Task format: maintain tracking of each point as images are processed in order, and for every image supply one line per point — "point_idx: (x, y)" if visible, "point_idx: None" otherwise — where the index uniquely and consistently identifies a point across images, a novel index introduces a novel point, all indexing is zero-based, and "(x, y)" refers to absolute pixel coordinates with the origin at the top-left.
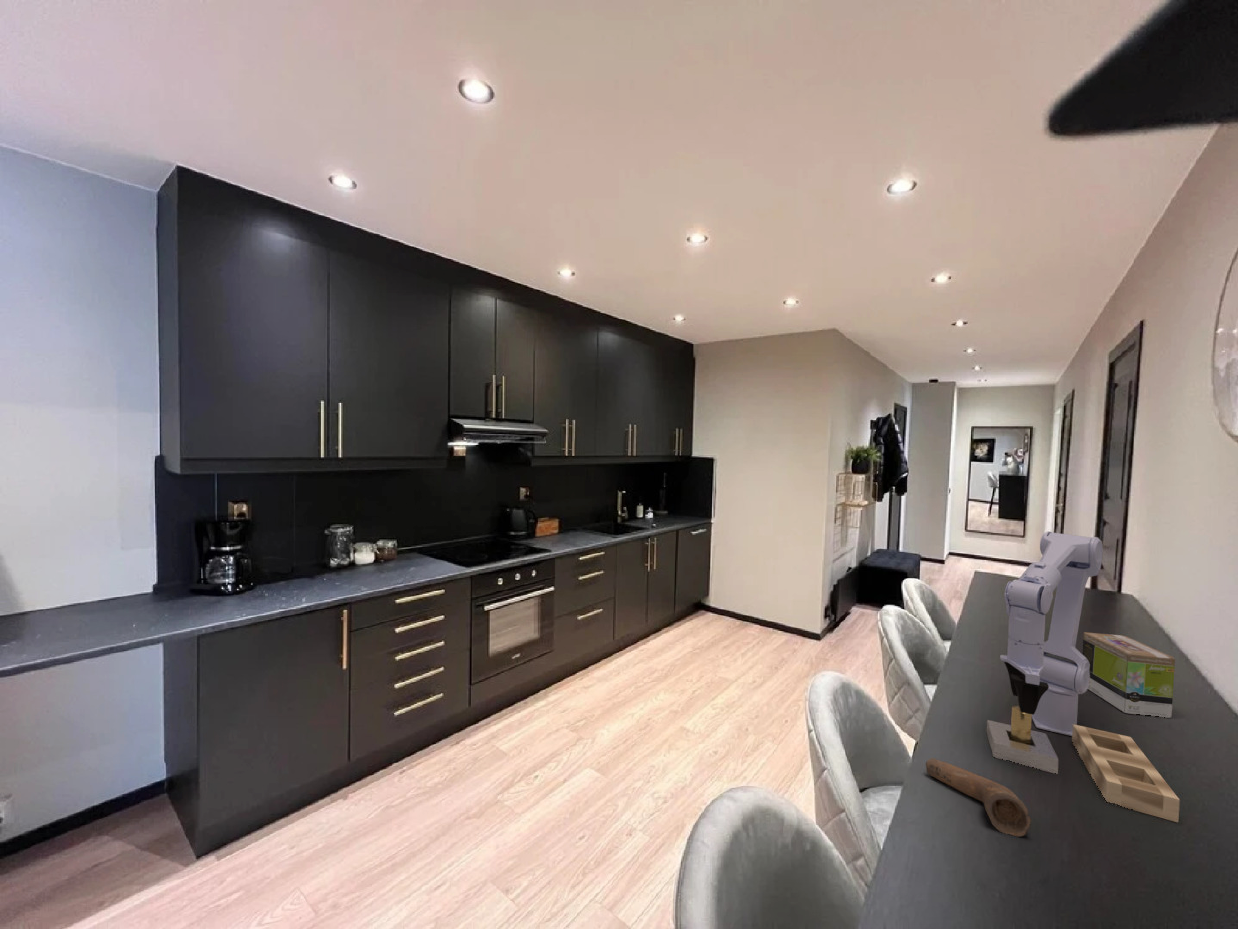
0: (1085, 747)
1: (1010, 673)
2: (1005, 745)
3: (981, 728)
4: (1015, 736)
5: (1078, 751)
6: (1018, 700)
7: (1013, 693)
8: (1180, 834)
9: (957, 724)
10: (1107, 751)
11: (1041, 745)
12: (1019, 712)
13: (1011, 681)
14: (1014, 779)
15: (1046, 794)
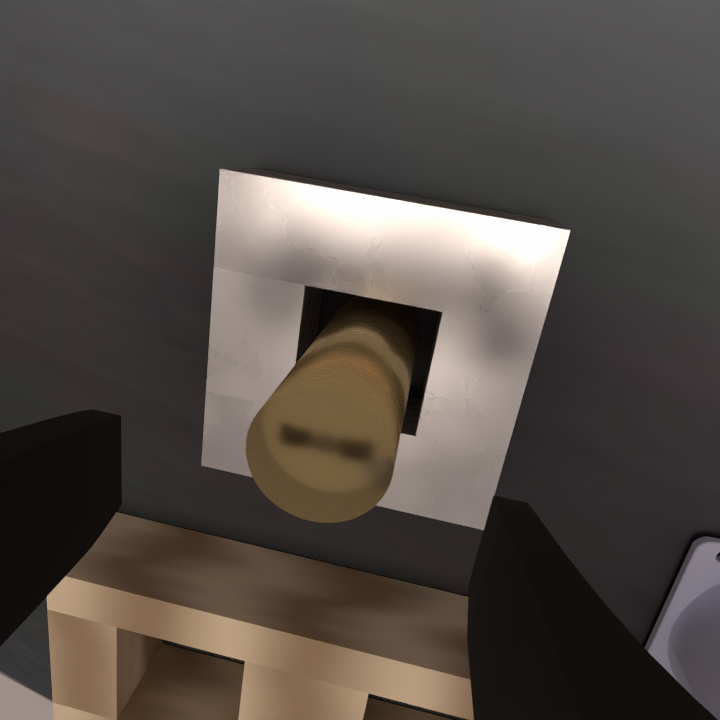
0: (363, 641)
1: (558, 713)
2: (222, 234)
3: (612, 205)
4: (323, 331)
5: None
6: (20, 444)
7: (493, 508)
8: (45, 626)
9: (630, 37)
10: (336, 708)
11: None
12: (256, 420)
13: (533, 600)
14: (87, 209)
15: (40, 310)
